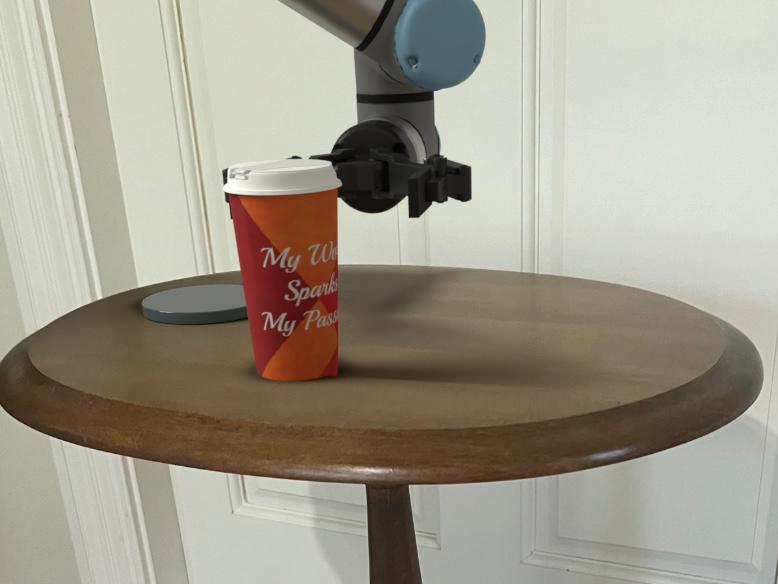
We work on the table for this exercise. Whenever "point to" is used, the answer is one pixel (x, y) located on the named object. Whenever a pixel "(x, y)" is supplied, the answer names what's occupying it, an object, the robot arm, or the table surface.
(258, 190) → the paper cup
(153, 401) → the table surface
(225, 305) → the coaster
